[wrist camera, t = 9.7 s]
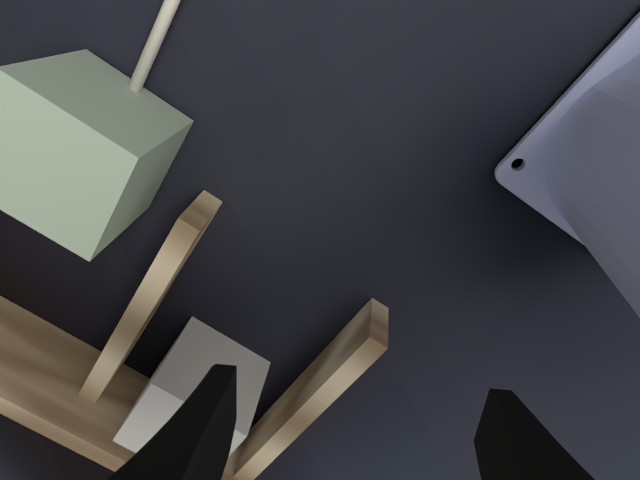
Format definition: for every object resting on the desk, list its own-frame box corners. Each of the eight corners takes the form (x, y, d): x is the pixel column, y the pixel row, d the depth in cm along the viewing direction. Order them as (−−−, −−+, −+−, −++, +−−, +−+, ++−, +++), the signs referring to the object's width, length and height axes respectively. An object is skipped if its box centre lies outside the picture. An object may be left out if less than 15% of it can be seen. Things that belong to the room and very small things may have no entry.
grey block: (192, 315, 25) (151, 383, 21) (271, 361, 26) (247, 436, 22) (156, 369, 28) (112, 440, 23) (229, 410, 28) (200, 486, 24)
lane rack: (9, 65, 20) (-97, 87, 16) (388, 308, 23) (387, 381, 19) (-53, 283, 26) (-141, 342, 22) (251, 449, 30) (228, 529, 25)
